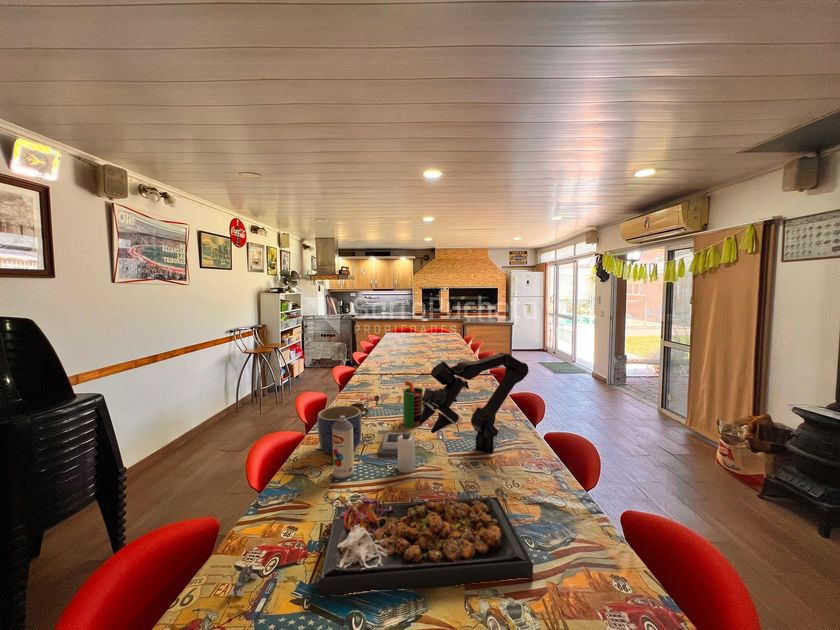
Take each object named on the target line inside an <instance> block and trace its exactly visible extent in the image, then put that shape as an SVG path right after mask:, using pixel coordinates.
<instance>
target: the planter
mask: <svg viewBox="0 0 840 630" xmlns="http://www.w3.org/2000/svg"><path fill="white" fill-rule="evenodd" d="M361 414H362V413H361V411H360V409H358V408H356V407H353V406H350V405H338V406H336V405H335V406H331V407H326V408H324V409H322V410H320V411H319V412H318V414H317V435H318V442H319V443H318V444H319V446H320V448H321V450H323V452H325V453H326V454H328V455H331V456H333V438H332V428H333V425H334V424H335V423H336V422H337V421H338V420H339V419H340V416H345V419H347V420H348V421H349V422H350V423H352V426H353V451H355V450H356V449H357V448H358V446H359V445H360V443H361V437H362V417H361Z"/></svg>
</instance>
